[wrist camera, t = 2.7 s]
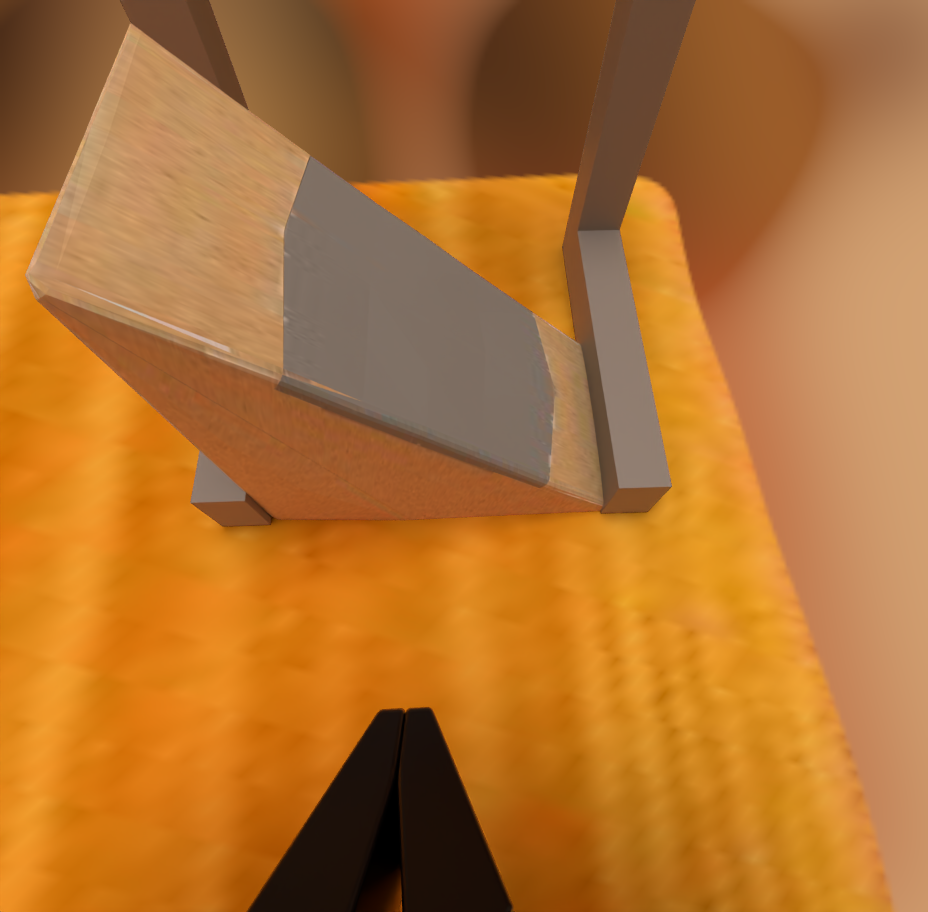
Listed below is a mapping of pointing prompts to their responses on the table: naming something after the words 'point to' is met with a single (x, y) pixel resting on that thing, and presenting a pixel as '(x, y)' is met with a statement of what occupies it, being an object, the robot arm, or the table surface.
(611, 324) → the grey frame stand
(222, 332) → the sandwich container
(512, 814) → the table surface
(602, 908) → the table surface
